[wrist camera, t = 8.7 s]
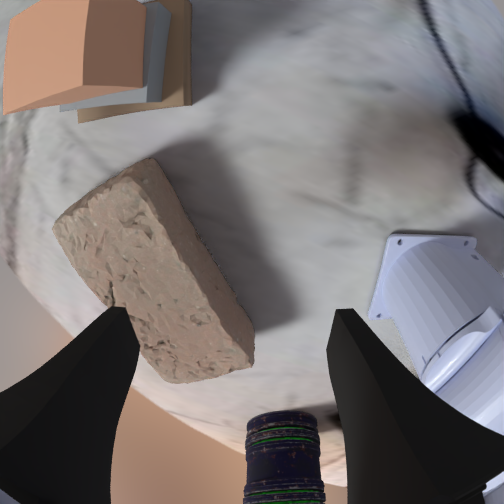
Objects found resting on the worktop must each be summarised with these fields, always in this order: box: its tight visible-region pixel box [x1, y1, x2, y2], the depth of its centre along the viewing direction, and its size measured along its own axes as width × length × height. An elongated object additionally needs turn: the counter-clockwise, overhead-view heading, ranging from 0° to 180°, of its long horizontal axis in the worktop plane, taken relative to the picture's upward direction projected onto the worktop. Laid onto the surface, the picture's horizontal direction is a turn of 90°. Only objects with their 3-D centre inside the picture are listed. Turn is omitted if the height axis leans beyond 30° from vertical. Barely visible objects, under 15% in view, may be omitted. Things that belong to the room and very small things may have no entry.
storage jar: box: [243, 411, 326, 504], centre depth 26 cm, size 10×10×15 cm
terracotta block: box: [3, 0, 147, 115], centre depth 7 cm, size 4×4×5 cm
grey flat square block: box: [60, 2, 172, 112], centre depth 11 cm, size 6×6×2 cm
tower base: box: [77, 0, 192, 124], centre depth 13 cm, size 7×7×2 cm
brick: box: [52, 159, 255, 384], centre depth 19 cm, size 16×8×5 cm, turn 24°
